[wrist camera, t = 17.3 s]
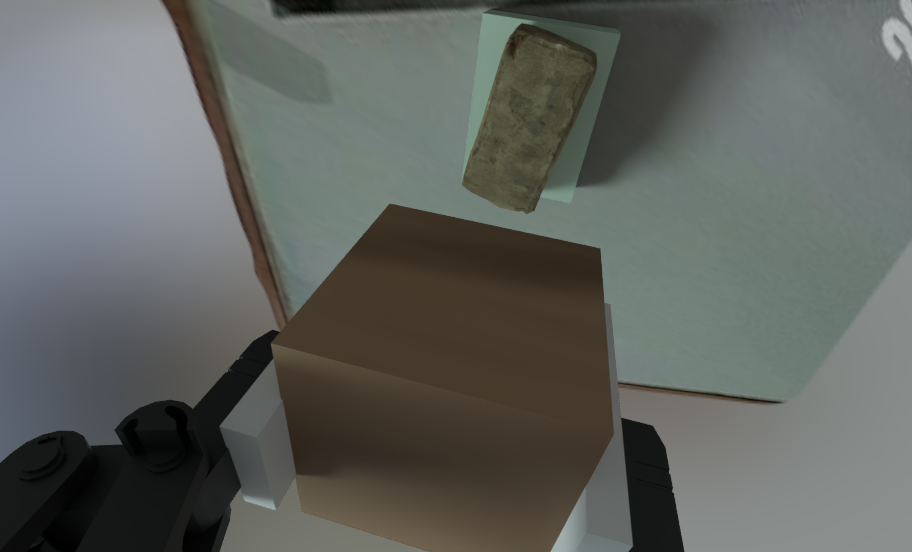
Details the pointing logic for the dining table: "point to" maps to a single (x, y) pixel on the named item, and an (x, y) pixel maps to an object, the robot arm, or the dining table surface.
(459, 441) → the walnut cube
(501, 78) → the stone block
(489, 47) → the base slab
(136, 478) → the robot arm
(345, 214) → the dining table surface
